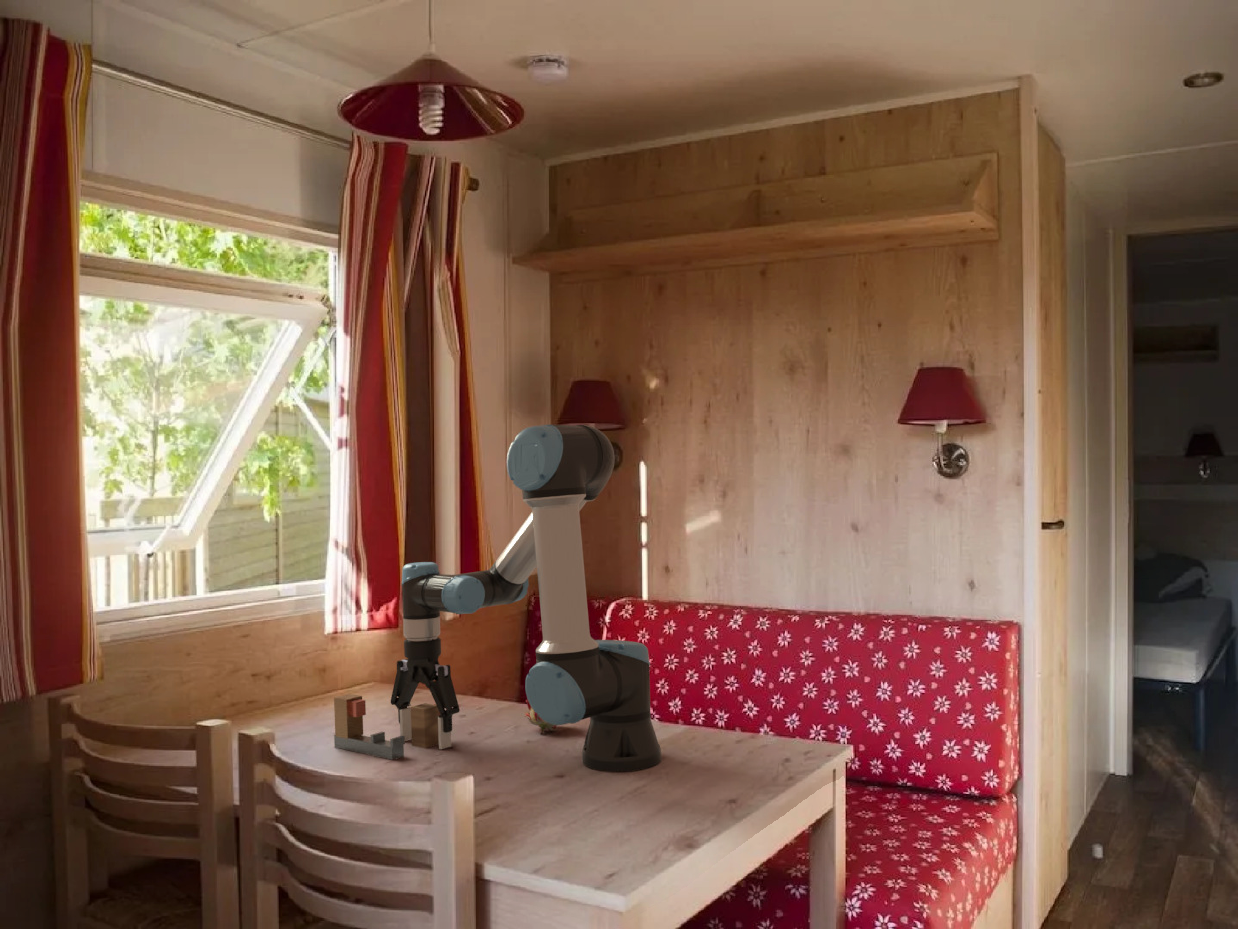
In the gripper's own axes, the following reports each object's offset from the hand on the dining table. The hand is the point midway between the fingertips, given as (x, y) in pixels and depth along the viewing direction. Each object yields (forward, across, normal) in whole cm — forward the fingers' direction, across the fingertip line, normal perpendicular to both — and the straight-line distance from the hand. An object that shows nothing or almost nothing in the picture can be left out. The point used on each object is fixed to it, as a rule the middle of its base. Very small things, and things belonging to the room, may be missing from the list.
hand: (425, 743), depth 229 cm
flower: (0, -14, -22) cm, 26 cm away
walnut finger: (0, 0, 0) cm, 0 cm away
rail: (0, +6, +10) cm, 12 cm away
